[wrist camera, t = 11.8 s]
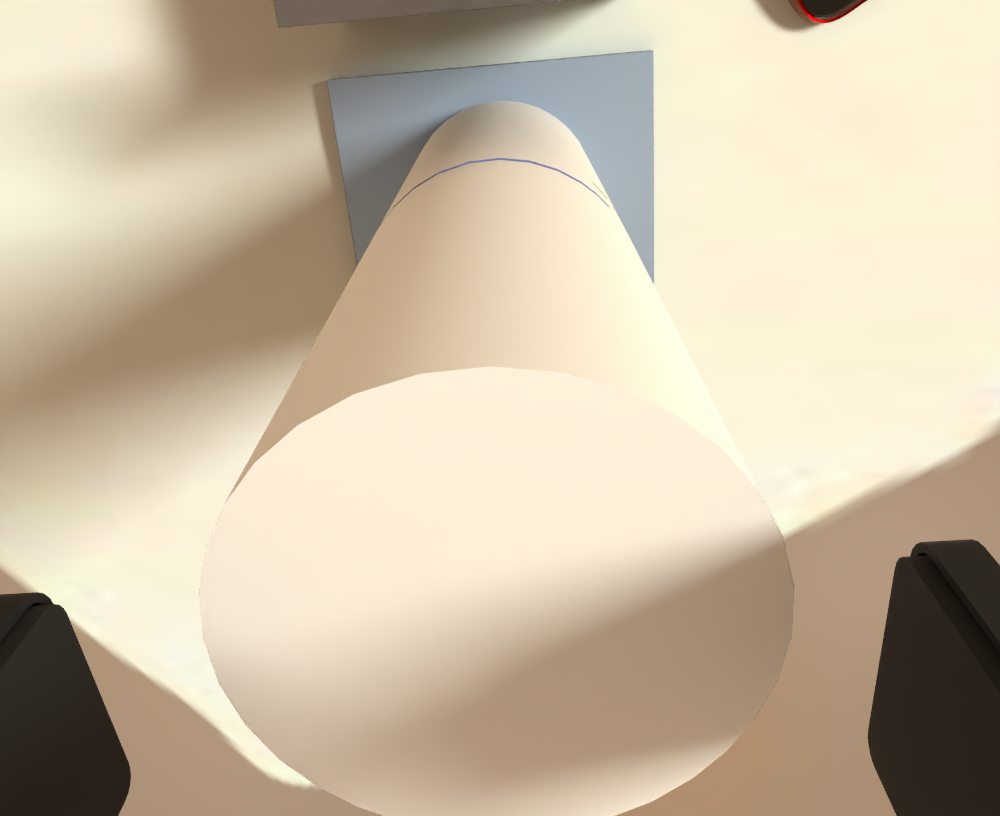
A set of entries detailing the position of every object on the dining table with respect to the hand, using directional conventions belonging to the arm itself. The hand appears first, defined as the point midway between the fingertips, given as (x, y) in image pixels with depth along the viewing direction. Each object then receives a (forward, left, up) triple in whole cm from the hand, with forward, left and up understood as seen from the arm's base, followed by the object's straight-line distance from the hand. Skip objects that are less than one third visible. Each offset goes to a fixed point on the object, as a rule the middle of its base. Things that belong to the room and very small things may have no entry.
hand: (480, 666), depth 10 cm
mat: (0, 0, -26) cm, 26 cm away
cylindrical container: (0, 0, -26) cm, 26 cm away
